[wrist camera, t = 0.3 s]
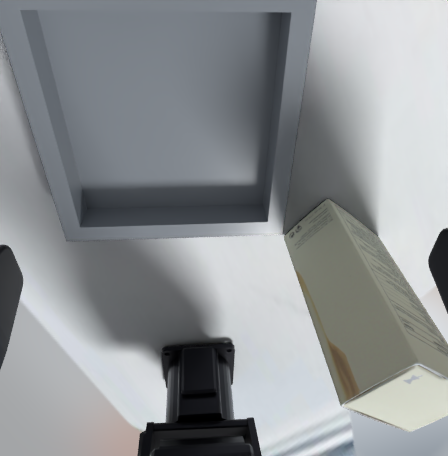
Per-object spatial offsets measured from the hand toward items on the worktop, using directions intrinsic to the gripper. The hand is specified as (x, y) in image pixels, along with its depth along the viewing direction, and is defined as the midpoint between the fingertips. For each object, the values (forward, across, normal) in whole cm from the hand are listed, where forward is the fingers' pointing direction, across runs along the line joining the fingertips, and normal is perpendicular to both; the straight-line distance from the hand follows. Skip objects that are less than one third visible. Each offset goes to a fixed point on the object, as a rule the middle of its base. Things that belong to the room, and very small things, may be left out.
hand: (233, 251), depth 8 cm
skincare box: (+15, -9, +12) cm, 21 cm away
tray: (+14, +2, +2) cm, 15 cm away
